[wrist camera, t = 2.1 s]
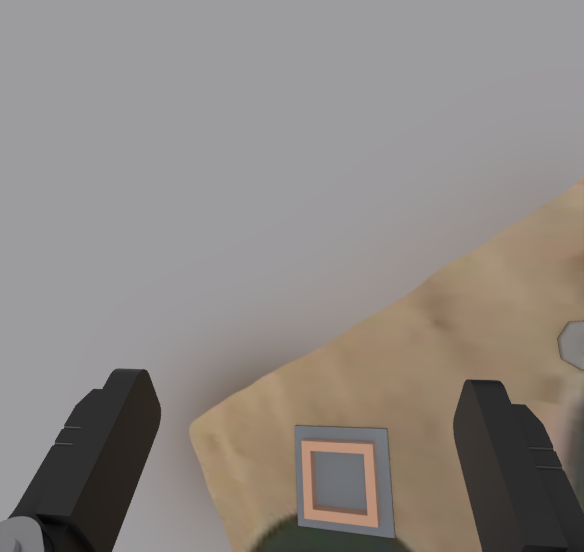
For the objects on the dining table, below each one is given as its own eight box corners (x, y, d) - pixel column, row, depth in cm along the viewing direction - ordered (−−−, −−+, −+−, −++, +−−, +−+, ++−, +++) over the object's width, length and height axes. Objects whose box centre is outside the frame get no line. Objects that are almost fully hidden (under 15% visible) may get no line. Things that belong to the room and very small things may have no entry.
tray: (395, 536, 66) (392, 543, 63) (299, 524, 72) (293, 530, 69) (387, 428, 68) (384, 431, 66) (295, 425, 74) (289, 428, 72)
